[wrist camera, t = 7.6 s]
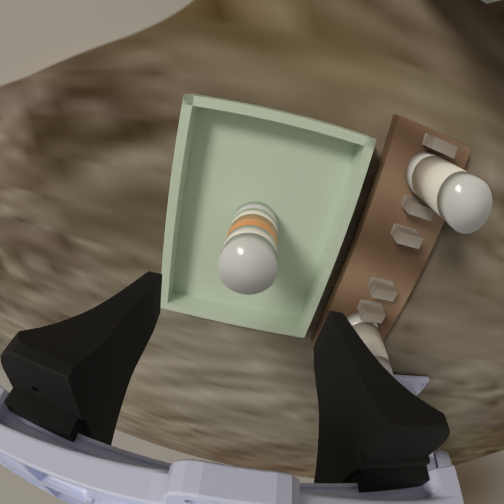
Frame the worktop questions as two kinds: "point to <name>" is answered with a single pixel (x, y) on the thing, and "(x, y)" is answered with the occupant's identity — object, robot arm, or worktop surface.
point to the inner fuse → (371, 339)
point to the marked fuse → (250, 250)
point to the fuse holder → (391, 231)
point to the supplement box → (489, 1)
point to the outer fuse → (449, 191)
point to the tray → (265, 191)
